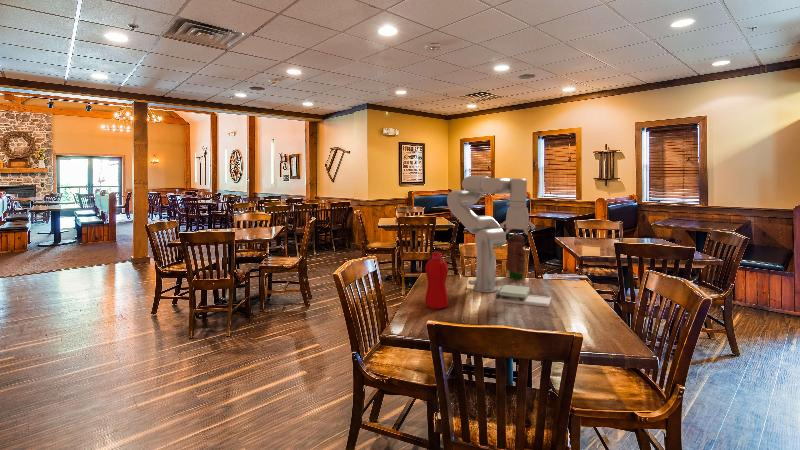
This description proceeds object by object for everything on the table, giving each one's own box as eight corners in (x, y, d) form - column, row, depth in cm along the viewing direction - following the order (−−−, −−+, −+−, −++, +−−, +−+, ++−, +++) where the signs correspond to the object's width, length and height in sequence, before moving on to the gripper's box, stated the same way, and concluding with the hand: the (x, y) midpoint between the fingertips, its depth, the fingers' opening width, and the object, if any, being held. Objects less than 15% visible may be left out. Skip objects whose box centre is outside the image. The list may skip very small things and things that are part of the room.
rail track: (495, 300, 211) (495, 293, 210) (500, 294, 223) (500, 287, 222) (548, 306, 201) (548, 299, 201) (551, 299, 213) (551, 292, 213)
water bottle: (435, 311, 195) (435, 255, 192) (422, 305, 205) (422, 251, 202) (452, 308, 199) (453, 253, 196) (439, 302, 209) (439, 249, 206)
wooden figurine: (529, 273, 208) (530, 235, 205) (517, 274, 206) (519, 236, 203) (514, 268, 219) (516, 232, 217) (503, 269, 217) (504, 232, 214)
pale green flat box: (499, 298, 209) (499, 291, 209) (505, 291, 222) (505, 284, 222) (525, 301, 205) (525, 294, 204) (529, 293, 217) (530, 287, 217)
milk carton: (508, 278, 256) (508, 243, 254) (509, 274, 265) (510, 241, 262) (523, 279, 253) (524, 244, 251) (524, 275, 262) (525, 242, 259)
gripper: (497, 205, 208) (496, 242, 211) (536, 206, 202) (535, 244, 204) (500, 204, 215) (499, 240, 217) (538, 204, 209) (536, 242, 211)
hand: (516, 242), depth 211 cm, fingers closed on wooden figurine, 7 cm apart
